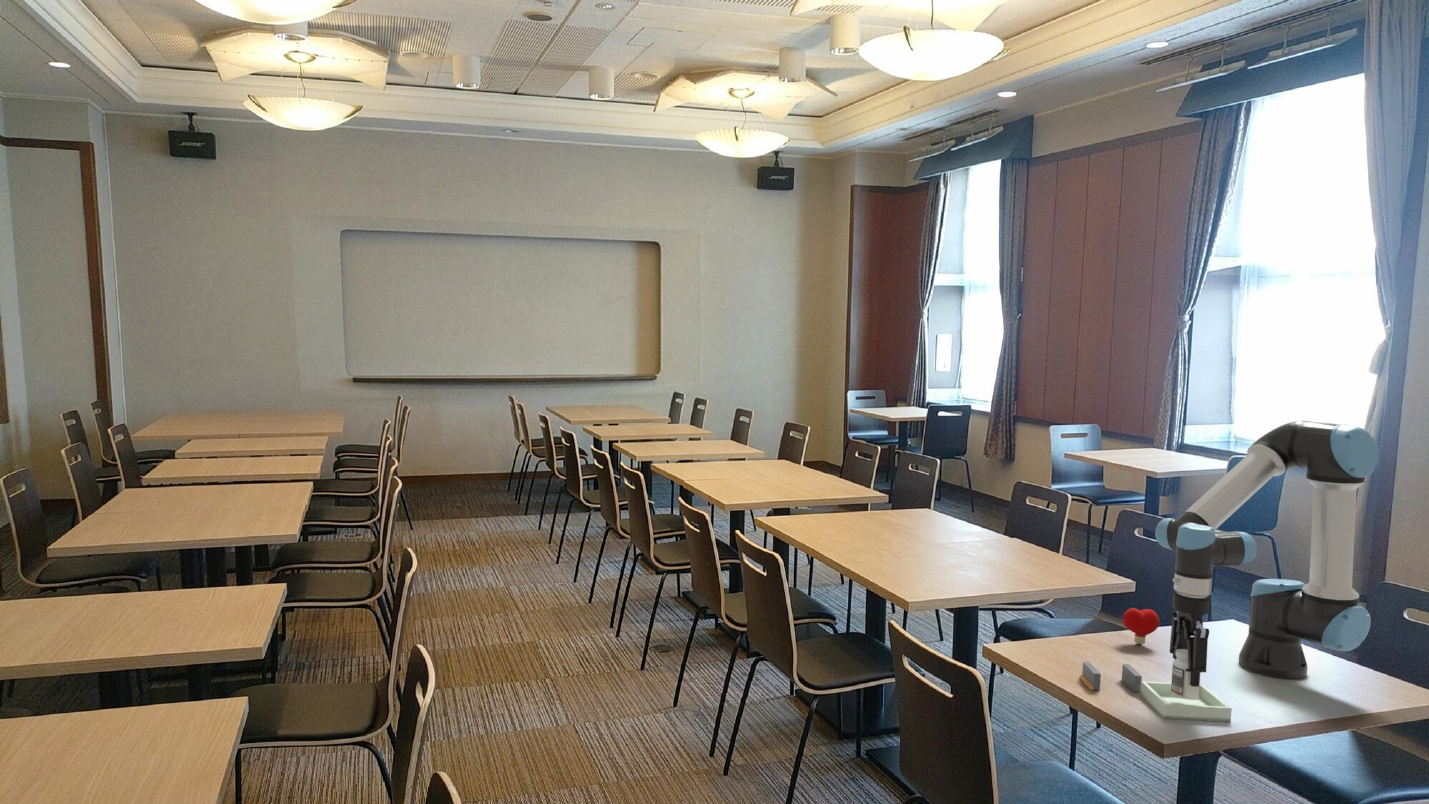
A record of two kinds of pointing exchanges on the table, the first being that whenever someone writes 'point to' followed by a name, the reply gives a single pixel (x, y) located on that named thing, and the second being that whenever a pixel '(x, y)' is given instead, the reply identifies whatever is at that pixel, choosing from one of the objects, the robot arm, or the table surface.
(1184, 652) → the pill bottle
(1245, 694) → the table surface
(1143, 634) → the red heart bulb
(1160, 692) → the tray
